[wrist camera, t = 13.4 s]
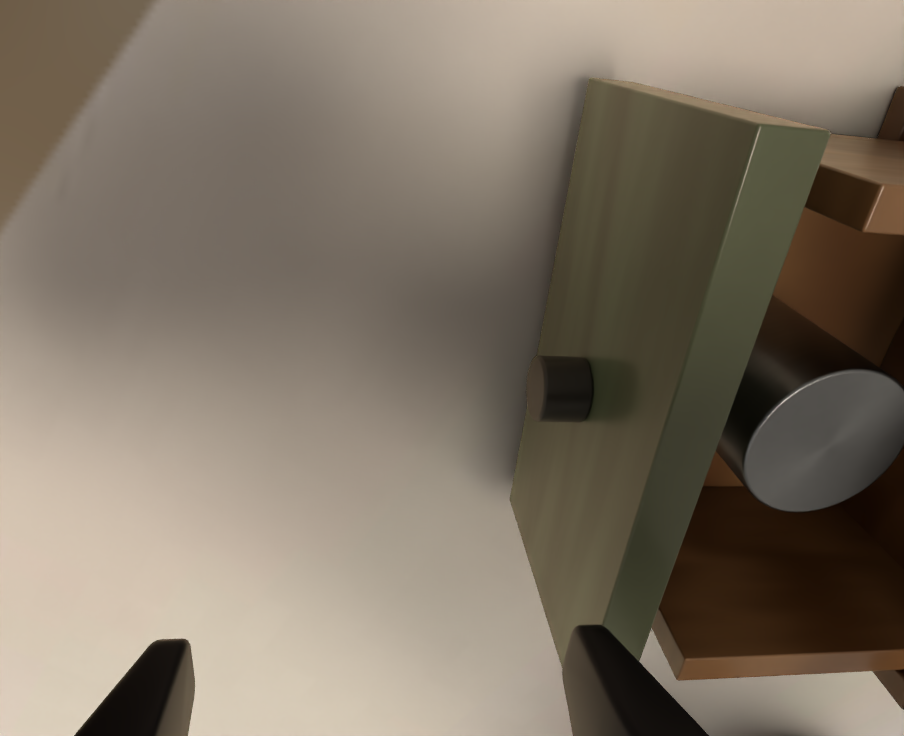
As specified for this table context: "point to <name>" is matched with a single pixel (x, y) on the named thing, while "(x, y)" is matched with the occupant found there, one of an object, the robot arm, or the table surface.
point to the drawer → (708, 388)
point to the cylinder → (810, 417)
